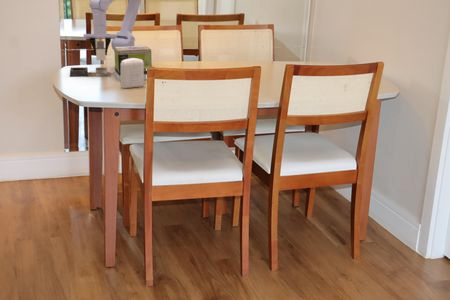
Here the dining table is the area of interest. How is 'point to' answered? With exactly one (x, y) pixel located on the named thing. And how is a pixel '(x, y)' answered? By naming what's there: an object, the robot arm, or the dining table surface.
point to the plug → (100, 51)
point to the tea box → (132, 52)
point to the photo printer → (132, 73)
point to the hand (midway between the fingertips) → (100, 54)
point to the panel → (84, 72)
